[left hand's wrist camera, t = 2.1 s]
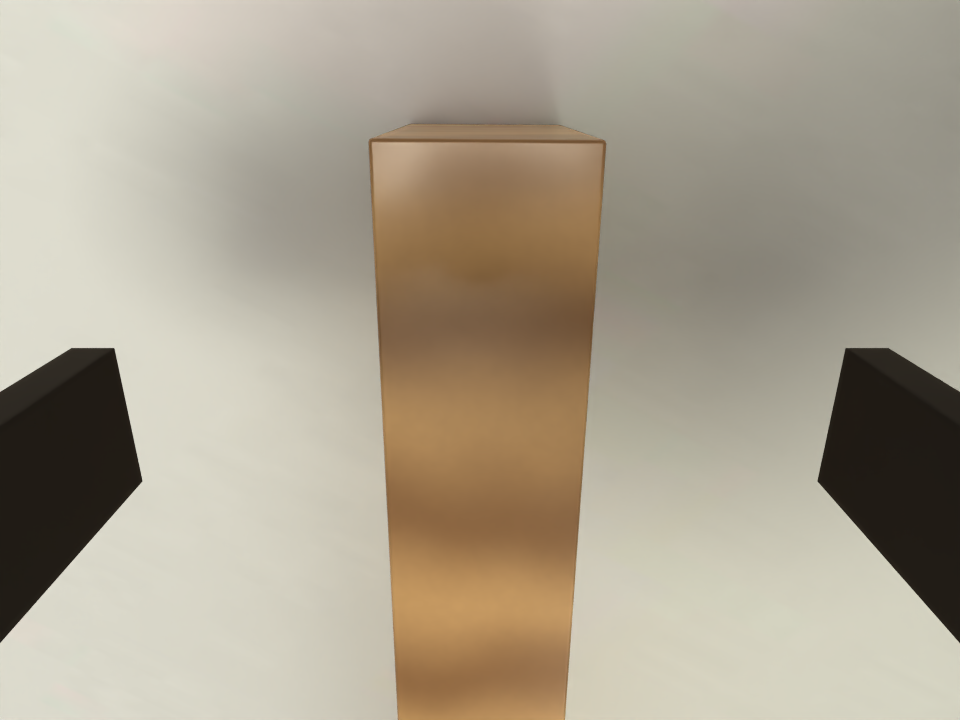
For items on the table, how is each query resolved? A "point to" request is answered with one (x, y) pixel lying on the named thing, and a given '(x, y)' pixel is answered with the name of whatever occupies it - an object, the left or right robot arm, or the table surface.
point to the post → (484, 406)
